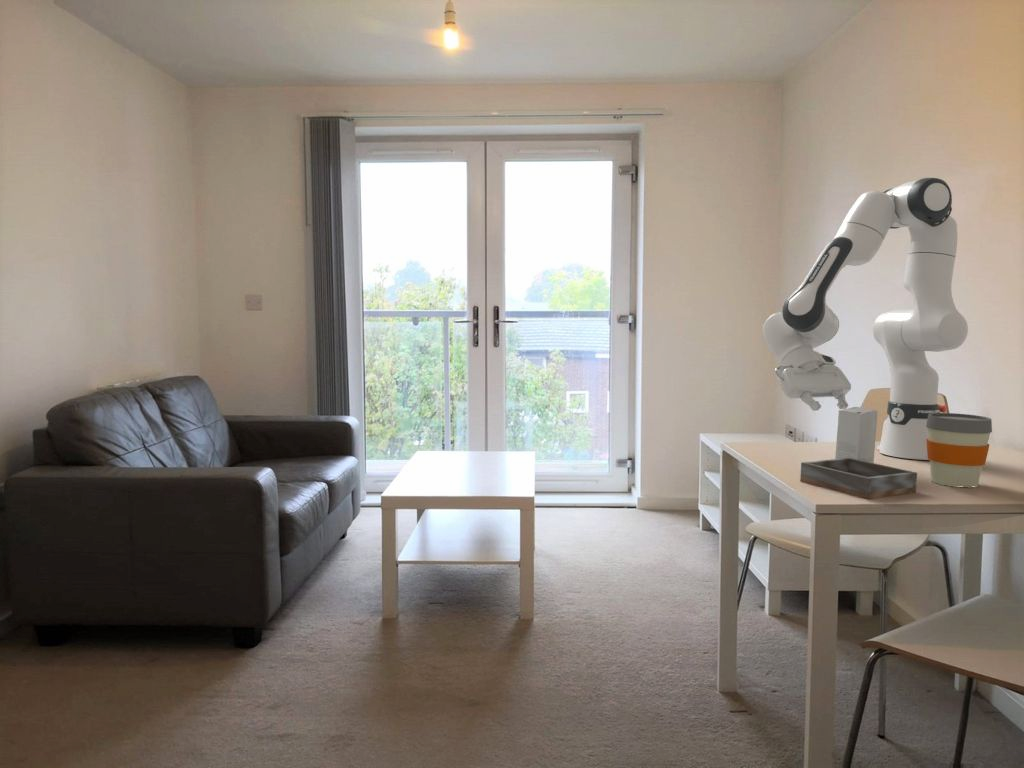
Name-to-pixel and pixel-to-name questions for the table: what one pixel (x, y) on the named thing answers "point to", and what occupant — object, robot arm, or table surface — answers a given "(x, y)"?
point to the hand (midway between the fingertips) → (831, 408)
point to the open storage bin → (858, 477)
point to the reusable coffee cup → (957, 447)
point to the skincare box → (856, 434)
